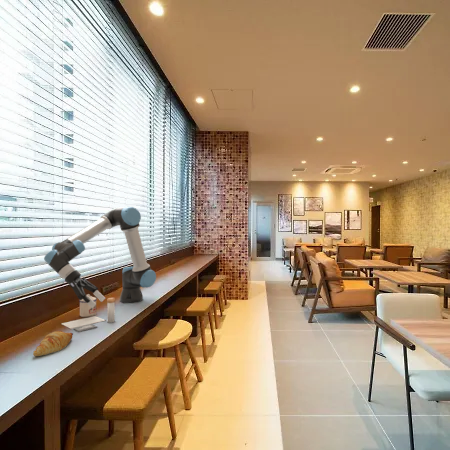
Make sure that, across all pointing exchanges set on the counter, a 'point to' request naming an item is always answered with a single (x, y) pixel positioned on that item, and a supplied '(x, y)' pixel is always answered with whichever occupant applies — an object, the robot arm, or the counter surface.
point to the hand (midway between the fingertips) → (99, 303)
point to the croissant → (53, 343)
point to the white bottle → (110, 310)
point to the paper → (82, 322)
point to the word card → (85, 328)
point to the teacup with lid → (87, 308)
